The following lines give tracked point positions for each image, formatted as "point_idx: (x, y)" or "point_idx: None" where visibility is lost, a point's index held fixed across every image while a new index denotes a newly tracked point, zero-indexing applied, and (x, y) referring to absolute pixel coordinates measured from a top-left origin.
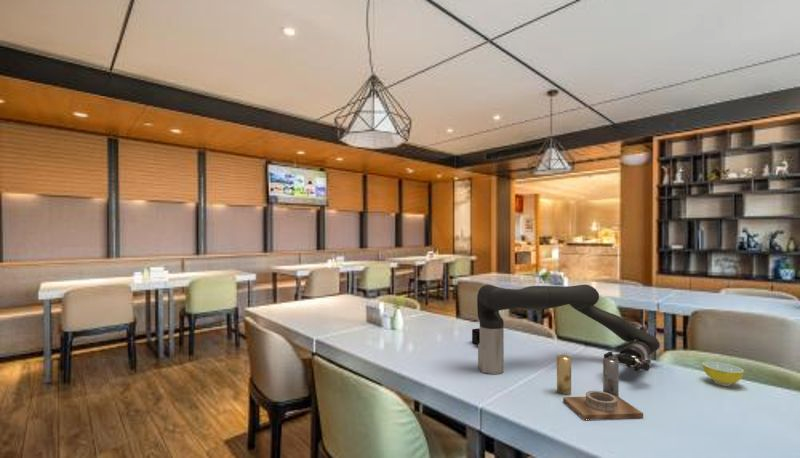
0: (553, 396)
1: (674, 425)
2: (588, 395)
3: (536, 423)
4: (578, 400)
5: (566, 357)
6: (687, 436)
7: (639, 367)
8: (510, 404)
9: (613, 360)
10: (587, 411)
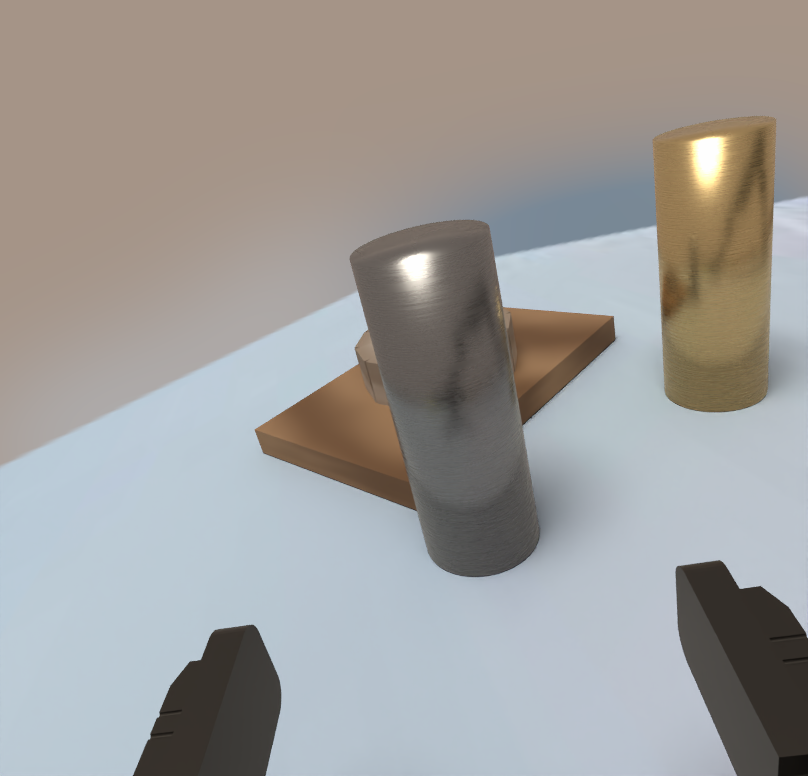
0: None
1: (131, 491)
2: None
3: (554, 255)
4: (542, 336)
5: (692, 134)
6: (107, 457)
7: (168, 722)
8: None
9: (394, 248)
10: None
